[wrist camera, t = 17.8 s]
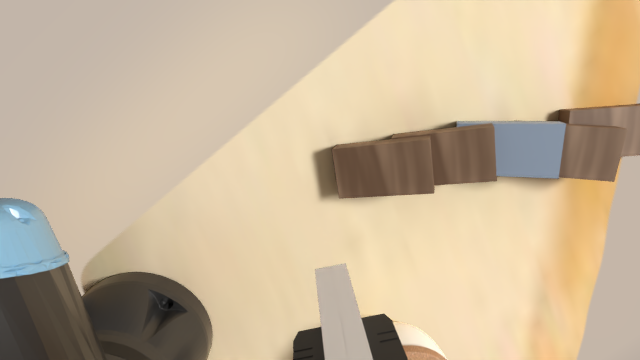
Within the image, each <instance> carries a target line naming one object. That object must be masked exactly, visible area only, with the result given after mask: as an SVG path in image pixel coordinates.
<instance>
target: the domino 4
mask: <svg viewBox="0 0 640 360" xmlns="http://www.w3.org/2000/svg"><path fill="white" fill-rule="evenodd" d="M558 121H560V122H563V123H566V124H585V125H603V126H617V127H622V128H626V129H628V130H627V134H626V138H625V142H624V145H623V149H622V153H621V157H622V156H635V155H640V103H639V104H632V105H618V106H604V107H589V108H575V109H561V110H559V119H558Z"/></svg>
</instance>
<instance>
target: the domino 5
mask: <svg viewBox="0 0 640 360" xmlns="http://www.w3.org/2000/svg"><path fill="white" fill-rule="evenodd" d="M627 130H628V129H626V128H622V127H617V126H603V125H585V124H566V128H565V135H564V142H563V150H562V157H561V164H560V171H559V177H563V178H575V179H587V180H600V181H612V182H614V180H615V176H616V172H617V168H618V165H619V161H620V157H621V153H622V149H623V145H624V142H625V138H626V134H627Z"/></svg>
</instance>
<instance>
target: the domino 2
mask: <svg viewBox="0 0 640 360" xmlns="http://www.w3.org/2000/svg"><path fill="white" fill-rule="evenodd" d="M427 135H430V139H431V151H432V163H433V175H434V185H445V184H459V183H474V182H489V181H497V175H496V152H495V128H494V126H493V124H492V123H488V124H479V125H470V126H462V127H453V128H444V129H435V130H427V131H418V132H409V133H400V134H393V136H392V138H391V139H398V138H408V137H417V136H427Z"/></svg>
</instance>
